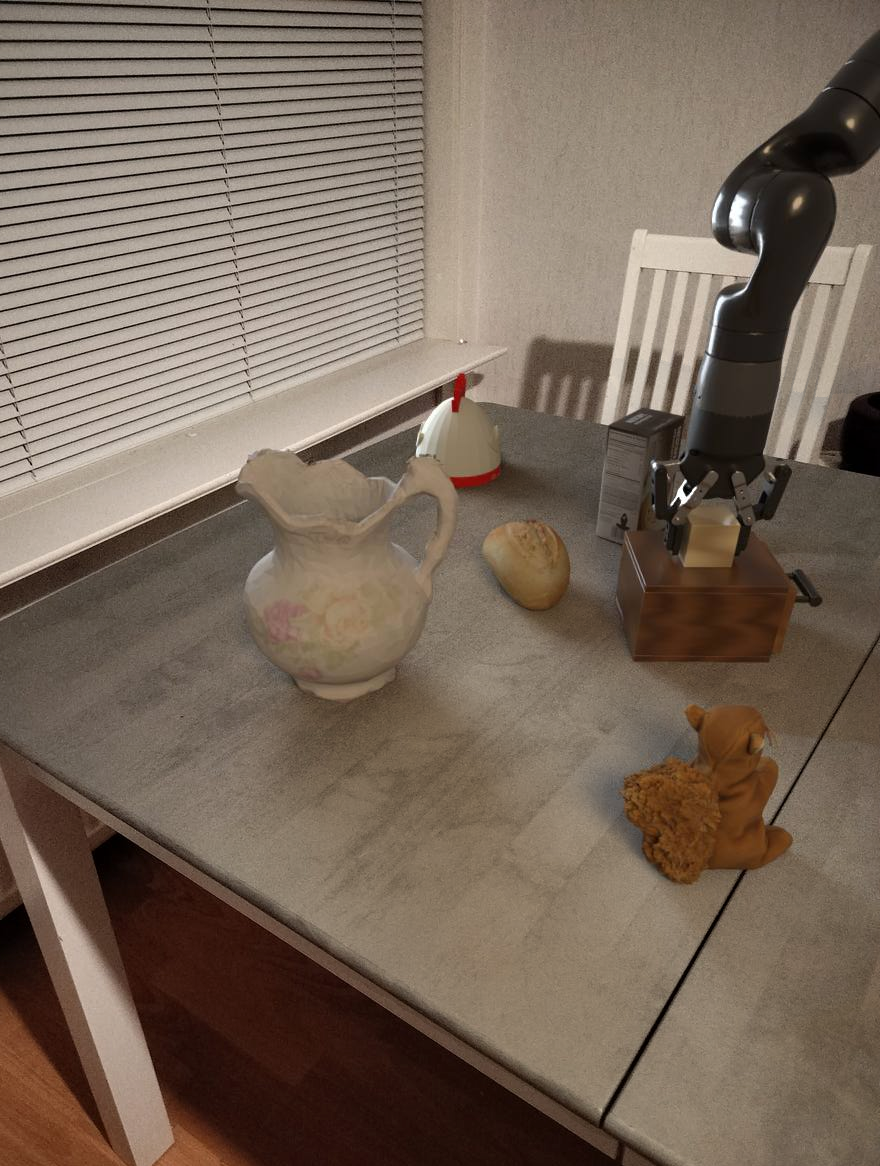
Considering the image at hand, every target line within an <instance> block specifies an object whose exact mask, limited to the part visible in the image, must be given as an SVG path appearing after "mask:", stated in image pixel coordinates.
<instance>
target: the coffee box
mask: <svg viewBox="0 0 880 1166" xmlns="http://www.w3.org/2000/svg"><path fill="white" fill-rule="evenodd" d="M685 420H686V416H685V415H682V414H681V415H680V414H676V413H672V412H671V413H670V412H667V411H663V410H657V409H654V408H649V407H640V408H638V409H636V410H635V411H633V412H631V413H629V414H627V415H625V416H623V417H621V418H619V419H618V420H616V421H614V422H611V423H609V424H608V425H607V433H606V434H607V435H606V440H605V442H606V443H605V452H604V459H603V468H602V477H601V487H600V495H599V504H598V514H597V521H596V528H595V529H596V530H595V535H596V536H597V537H599V538H602V539H605V540H608V541H611V542H614V543H616V544H617V543H618V544H620V545H623V540H624V533H625V531H663V529H665V527H666V522H667V521H666V520H658V519H657V518H656V516H655V514H654V512H653V510H652V508H651V461H652V460H653V459H655V458H660V459H661V460H662V462H663V461H670V460H677V459H679V457H680V450H681V444H682V438H683V433H684V425H685ZM676 475H677V472H676V473H675V475H674V478H673V480H672V481H671V482H670V483H667V505H671V503H672V498H673V493H674V486H675V481H676Z"/></svg>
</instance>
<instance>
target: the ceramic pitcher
mask: <svg viewBox="0 0 880 1166" xmlns="http://www.w3.org/2000/svg"><path fill="white" fill-rule="evenodd" d="M285 449H286V450H279V449H271V448H269V447H268V448H266V447H265V448H262V449H260V450H255V451H254V452H253V453H251V454H248V455H247V456H248V457H247V459H246V463H245V464H244V465H243V466H241V468H240V471H239V473H238V476H237V483H236V484H235V486H234V491H235V493H236V494H237V495H238V496H239V497H242V498H243V499H244V500H247V501H248V502H251V503H252V504H254V505H256V506H257V507H258V508H259V509H260V511H262V513H263V515H264V516H265V517H266V518H267V520H268V522H269V523H270V525H271V527H272V530H273V536H274V542H275V544H274V548H273V549H272V550H271V551H270V552H269V553H267V554H266V555H265V556H263V557H262V558H260V559H259V560H258V561H257V562H256V563H255V564H254V565H253V567H252V569H251V570H250V572H249V573H248V577H247V578H246V582H245V585H244V592H243V611H244V616H245V622H246V626H247V628H248V632H249V635H250V637H251V639H252V641H253V643H254V644H255V646H256V648H258V650H259V651H260V652H261V654H262V655H263V656H264V657H265V658H266V659H267V660H268V661H269V662H270V663H271V664H273V665H274V666H275V667H277V668H279V669H280V671H281V670H282V672H284V673H286V674H287V675H290V676H291V677H292V678H293V681H294V682H295V684H296V686H297V688H298V689H300V690H301V691H302V692H304V693H306V694H308V695H310V696H312V697H314V698H317V699H323V700H327V701H333V702H337V703H342V704H345V703H348V702H350V701H352V700H356V699H358V698H360V697H363V696H367V695H368V694H372V693H374V692H376V691H379V690H380V689H382V688H383V687H385V686H386V685H387V684H390V683H391V682H393V681H395V678H396V670H397V665H398V664H399V663H400V662H401V661H402V660H404V658H405V657H406V656H407V655H408V654H409V653H411V651H412V650H413V649H414V648H415V646H416V645H417V643H418V642H419V639H420V638H421V637H422V634H423V631H424V629H425V626H426V623H427V621H428V620H427V618H428V611H429V607H430V606H431V604H432V602H433V601H434V574H435V572H436V570H437V569H438V567H439V566H441V564H442V563H443V561H444V559H445V556H446V554H447V553H448V549H449V547H450V545H451V543H452V540H453V538H454V536H455V534H456V531H457V526H458V517H459V494H458V493H457V491H456V487H454V485H453V483H452V482H451V480H450V478H449V476H448V475H447V473H446V472H445V469H444V466H442V465H443V464H442V463H443V462H440V460H437V459H436V455H433V459H431V458H429V459H428V458H427V457H428V456H429V457H432V456H431V455H430V454H419V457H417V456H416V453H415V454H414V455H412V456H411V457H410V458H408V459H405V460H403V461H402V462H403V465H404V464H405V465H406V470H405V471H404V473H403V474H402V475H401V478H400V480H399V481H398V482H397V483H395V482H394V481H392V480H390V479H389V478H387V477H386V476H370V477H367V476H366V475H364V473H362V472H361V471H359V470H358V469H356V468H355V467H353V466H352V465H351V464H349V463H348V461H346V460H344V459H342V458H336V459H333V460H332V459H321V460H318V461H315V462H312V463H311V462H310V463H309V464H307V463H306V462H303V460H302V459H301V458H300V457H299V456H298V455H297V453H295V452H294V451H292V450H291V449H289V448H285ZM435 459H436V460H435ZM425 495H426V496H429V497H432V498H434V501H435V509H436V521H437V522H436V524H435V526H434V530H433V532H432V533H431V536H430V538H429V540H428V542H427V544H426V546H425V548H424V553H423V556H422V560H421V561H420V562H419V561H418V560H417V559H416V558H415V557H414V556H413V555H412V554H410V552H408V551H407V550H406V549H405V548H404V547H402V546H401V545H398V544H396V543H394V542H392V541H391V537H390V531H391V518H392V515H393V513H394V512H396V511H398V510H400V509H401V508H402V507H403V506H405V504H407V503H408V502H410V501H411V500H414V499H416V498H418V497H422V496H425Z"/></svg>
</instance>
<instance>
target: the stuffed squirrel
mask: <svg viewBox="0 0 880 1166" xmlns="http://www.w3.org/2000/svg"><path fill="white" fill-rule="evenodd" d="M684 715H685V717H686V720H687V721H688V723H689V725H690V727H691V728H692V729H693V730H694V731H695V732H696V734H697V735H696V737H697V743H696V753H697V754H696V755H695V756H694V758H693V759H691V761H690V762H689V763H686V762H684V760H682V759H676V758H675V757H673V756H671V757H667V758H665V761H666V762H660V763H659V765H657V764H654V765H652V766H651V767H650V769H649V768H647V769H640V770H639V771H638V772H635V773H633V774H631V775H628V776H623V779H624V780H623V781H622V783H623V787H622V788H623V789H619V791H618V793H619V794H620V795H622V796H620V797H619V799H624V802H623V805H624V806H623V807H622V809H623V810H624V815H625V817H626V820H627V821H628V822H630V823H631V824H632V825H633V826H634V827H636V828H638V829H640V830H641V832H642V840H641V842H640V843H641V851H642V855H643V856H644V859H645V860H646V861H647V863H650V864H651V865H652V866H655V867H656V870H657V871H658V873H659V874H661V875H662V876H665V877H666V878H668V879H669V880H670V882H672V883H677V884H679V885H683V884H684V885H686V886H688V885H689V886H690V885H691V886H693V885H694V883H697V882H699V879H701V873H702V872H705V871H709V870H710V871H713V870H739V871H740V870H757V869H761V868H763V867H765V866H766V865H768V864H770V863H772V862H774V861H775V860H777V859H778V858H780V857H781V856H783V855H784V854H785V853H786V852H787V851H788V850H789V848H791V847H792V845H793V843H794V839H793V835H792V834H791V833H790V832H789V831H787V829H785V828H784V827H781V826H777V825H772V824H765V820H764V817H763V813H764V810H765V808H766V806H767V805H768V803H769V800H770V798H771V796H772V794H773V793H774V790H775V789H776V786H777V783H778V780H779V765H778V764H777V761H776V760H775V759H773V758H771V757H769V756H767V755H766V756H762V754H763V752H764V747H765V735H766V737H767V739H768V746H769V747H772V746H773V744H774V743H773V740H772V737H773V739H774V741H775V744H776V746H777V748H780V747H781V743H780V742H779V740H778V738H777V736H776V735H775V733H774V731H773V730H771V728H770V727H769V726H768V725H767V724H766V722H765V718H764V717H763V714H762V713H761V712H760V710H758V709H756V708H755V707H754V706H751V705H747V704H738V703H737V704H726V705H718V706H717V705H716V706H714V707H712V708H710V709H708V710H707V711H705V710H704V708H702V707H700V706H699V705H697V704H694V703H692V704H691V703H690V704H688V705H687V707H685V708H684ZM771 735H772V736H771Z"/></svg>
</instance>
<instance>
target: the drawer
mask: <svg viewBox="0 0 880 1166" xmlns="http://www.w3.org/2000/svg"><path fill="white" fill-rule="evenodd" d="M759 540H760V539H759ZM760 542H761V544H762V545H763V547H764V548H765V550H766V551H767V553H768V554H769V556H770V557H771V559H772V560H773V562H774V563H775V565H776V566H777V568H778V569H779V571H780V573H781V574H782V576H783V577H784V579H785V580H786V582H787V583H788V585H789V586H790V587H789V591H788V595H787V598H786V602H785V606H784V609H783V613H782V617H781V620H780V624H779V628H778V631H777V635H776V639H775V642H774V646H773V650H772V653H781V652H782V648H783V645H784V641H785V638H786V634H787V631H788V627H789V623H790V620H791V617H792V612H793V609H794V605H795V604H808V605H809V606H810V607H811V608H816V607H819V606H821V605H822V604H823V597H822V596H821V595H820V593H819V592H818V590H817V589H816V588H815V586H814V584H813V583H812V581H811V580H810V579H809V578H808V577H809V576H807V574H806V573H805V572H804V570H803V569H800V568H797V569H793V571H792V572H786V571H785V570H784V569H783V567H782V566H781V564H780V562H779V561H778V560H777V558H776V556H775V555H774V554H773V552H772V550H771V548H770V547H769V546H768V544H767V543H766V541H765V540H763V539H761V540H760ZM794 584H795V585H794ZM796 587H797V588H798V589H797V588H796ZM798 590H799V592H800V593H801V594H802V595H798Z"/></svg>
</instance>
